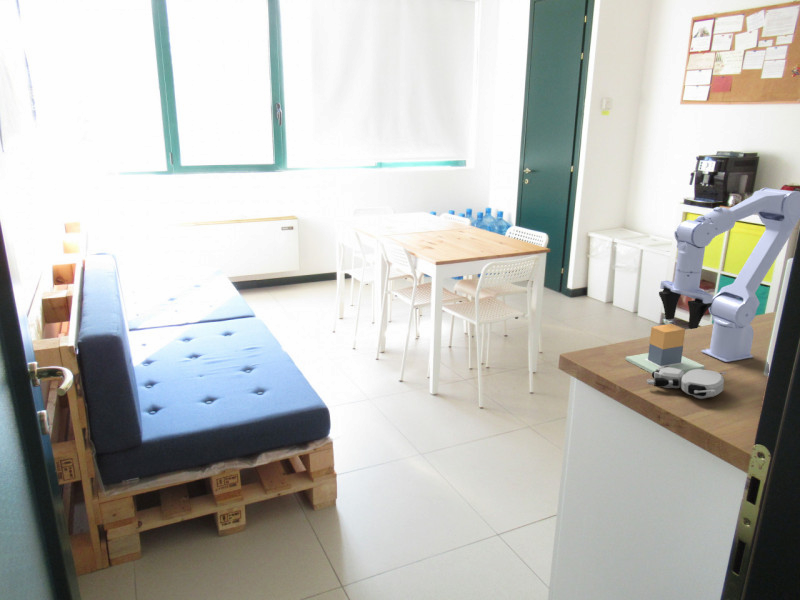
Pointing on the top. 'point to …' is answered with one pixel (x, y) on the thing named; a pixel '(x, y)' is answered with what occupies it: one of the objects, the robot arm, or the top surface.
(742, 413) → the top surface
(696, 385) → the robot toy
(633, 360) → the baseplate
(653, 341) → the orange brick
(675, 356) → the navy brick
